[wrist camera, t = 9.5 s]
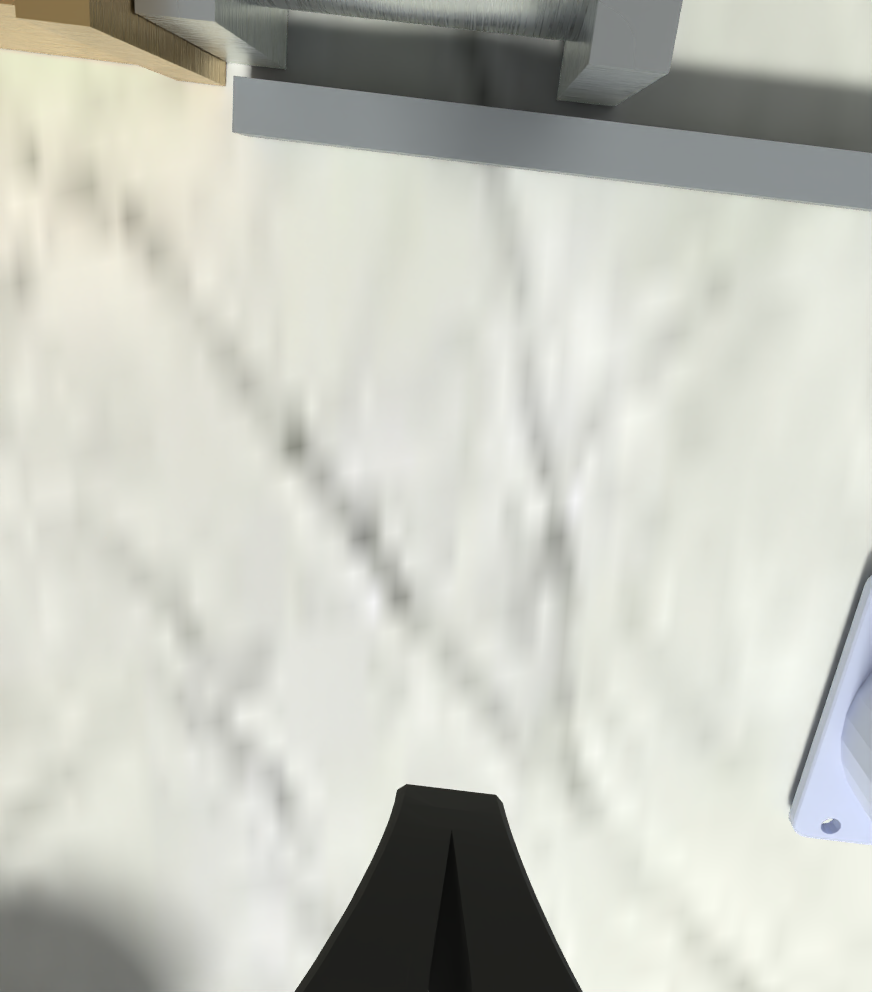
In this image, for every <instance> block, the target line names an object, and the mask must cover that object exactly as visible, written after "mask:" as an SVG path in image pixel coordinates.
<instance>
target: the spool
mask: <svg viewBox="0 0 872 992" xmlns="http://www.w3.org/2000/svg"><path fill="white" fill-rule="evenodd" d="M682 1H683V0H135V13H136V14H138V15H140V16H142V17H144V18H146V19H147V20H149V21H151V22H153V23H155V24H157V25H159V26H160V27H162V28H164V29H166V30H168V31H170V32H172V33H174V34H175V35H177V36H179V37H181V38H183V39H185V40H187V41H188V42H190V43H192V44H194V45H196V46H198V47H200V48H201V49H203V50H205V51H207V52H209V53H211V54H213V55H214V56H216V57H218V58H220V59H222V60H224V61H226V62H227V63H234V64H242V65H251V66H260V67H269V68H278V69H286V59H287V32H288V10H297V11H306V12H315V13H324V14H333V15H341V16H350V17H359V18H368V19H377V20H386V21H395V22H403V23H412V24H421V25H430V26H439V27H448V28H457V29H466V30H474V31H483V32H492V33H501V34H510V35H519V36H528V37H537V38H545V39H554V40H563V41H565V44H564V51H563V58H562V65H561V72H560V79H559V86H558V93H557V100H561V101H570V102H579V103H588V104H597V105H606V106H616V105H618V104H619V103H621V102H623V101H624V100H626V99H628V98H629V97H631V96H632V95H634V94H636V93H637V92H639V91H641V90H642V89H644V88H645V87H647V86H649V85H650V84H652V83H654V82H655V81H657V80H658V79H660V78H662V77H663V76H665V75H667V74H668V73H669V71H670V66H671V60H672V55H673V49H674V44H675V38H676V33H677V28H678V22H679V17H680V11H681V6H682Z"/></svg>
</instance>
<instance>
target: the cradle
mask: <svg viewBox="0 0 872 992" xmlns="http://www.w3.org/2000/svg"><path fill="white" fill-rule="evenodd" d="M232 132H234V133H238V134H242V135H245V136H251V137H259V138H267V139H276V140H284V141H292V142H300V143H309V144H317V145H325V146H334V147H342V148H350V149H358V150H367V151H375V152H383V153H392V154H400V155H408V156H416V157H425V158H433V159H441V160H450V161H458V162H466V163H474V164H483V165H491V166H499V167H508V168H516V169H524V170H532V171H541V172H549V173H557V174H566V175H574V176H582V177H590V178H599V179H607V180H615V181H624V182H632V183H640V184H648V185H657V186H665V187H673V188H682V189H690V190H698V191H706V192H715V193H723V194H731V195H740V196H748V197H756V198H764V199H773V200H781V201H789V202H798V203H806V204H814V205H822V206H831V207H839V208H847V209H856V210H864V211H872V153H869V152H860V151H852V150H844V149H835V148H827V147H819V146H811V145H802V144H794V143H786V142H777V141H769V140H761V139H753V138H744V137H736V136H728V135H720V134H711V133H703V132H695V131H686V130H678V129H670V128H662V127H653V126H645V125H637V124H628V123H620V122H612V121H604V120H595V119H587V118H579V117H570V116H562V115H554V114H546V113H537V112H529V111H521V110H512V109H504V108H496V107H488V106H479V105H471V104H463V103H454V102H446V101H438V100H430V99H421V98H413V97H405V96H396V95H388V94H380V93H372V92H363V91H355V90H347V89H338V88H330V87H322V86H314V85H305V84H297V83H289V82H280V81H272V80H264V79H256V78H247V77H239V76H234V81H233V123H232Z"/></svg>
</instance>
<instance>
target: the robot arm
mask: <svg viewBox="0 0 872 992" xmlns="http://www.w3.org/2000/svg"><path fill="white" fill-rule="evenodd" d="M827 819H833V820H832V821H830V822H828V823H823V822H824V821H825V820H827ZM789 820H790V822H791V824H792V826H793V828H794V830H795V832H796V833H798V834H799V835H801V836H804V837H808V838H817V839H825V840H833V841H841V842H850V843H858V844H866V845H872V575H871V576H870V577H869V578H868V580H867V582H866V583H865V585H864V588H863V591H862V595H861V598H860V601H859V604H858V607H857V610H856V613H855V616H854V619H853V622H852V625H851V628H850V631H849V634H848V637H847V640H846V643H845V646H844V649H843V652H842V655H841V658H840V661H839V664H838V667H837V670H836V673H835V676H834V679H833V682H832V685H831V688H830V691H829V694H828V697H827V700H826V703H825V706H824V709H823V712H822V715H821V718H820V722H819V725H818V728H817V731H816V734H815V737H814V740H813V743H812V746H811V749H810V752H809V755H808V758H807V761H806V764H805V767H804V770H803V773H802V776H801V779H800V782H799V785H798V788H797V791H796V794H795V797H794V800H793V803H792V806H791V809H790V812H789ZM822 823H823V824H822ZM295 992H582V990H581V988H580V986H579V984H578V982H577V980H576V978H575V977H574V975H573V973H572V971H571V969H570V967H569V965H568V963H567V961H566V959H565V957H564V955H563V953H562V951H561V949H560V947H559V945H558V943H557V941H556V939H555V937H554V935H553V932H552V930H551V928H550V926H549V924H548V921H547V919H546V917H545V915H544V913H543V911H542V908H541V906H540V904H539V902H538V900H537V897H536V895H535V893H534V890H533V888H532V886H531V883H530V881H529V878H528V876H527V873H526V871H525V868H524V866H523V863H522V861H521V858H520V855H519V853H518V850H517V847H516V844H515V842H514V839H513V836H512V833H511V830H510V827H509V824H508V820H507V817H506V814H505V810H504V806H503V803H502V802H501V800H500V799H499V798H498V797H497V795H492V794H484V793H476V792H467V791H459V790H451V789H442V788H434V787H426V786H417V785H409V784H406V785H404V786H403V787H401V788H400V789H398V790H397V793H396V798H395V803H394V806H393V809H392V813H391V816H390V819H389V821H388V824H387V827H386V829H385V832H384V834H383V837H382V839H381V841H380V843H379V846H378V848H377V850H376V852H375V855H374V857H373V859H372V861H371V863H370V865H369V867H368V869H367V871H366V873H365V875H364V877H363V879H362V881H361V882H360V884H359V886H358V888H357V890H356V892H355V894H354V896H353V898H352V900H351V902H350V904H349V905H348V907H347V909H346V911H345V912H344V914H343V916H342V917H341V919H340V921H339V922H338V924H337V926H336V927H335V929H334V931H333V932H332V934H331V936H330V937H329V939H328V940H327V942H326V944H325V945H324V947H323V949H322V950H321V952H320V954H319V955H318V957H317V959H316V960H315V962H314V963H313V965H312V966H311V968H310V969H309V971H308V972H307V974H306V975H305V977H304V978H303V980H302V981H301V983H300V984H299V986H298V987H297V989H296V990H295Z"/></svg>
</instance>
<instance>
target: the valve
mask: <svg viewBox="0 0 872 992" xmlns="http://www.w3.org/2000/svg"><path fill="white" fill-rule="evenodd" d="M0 48H2V49H10V50H19V51H27V52H35V53H44V54H52V55H60V56H68V57H77V58H85V59H93V60H102V61H110V62H118V63H126V64H135V65H139V66H142V67H144V68H147V69H149V70H152V71H154V72H157V73H160V74H162V75H165V76H167V77H170V78H173V79H175V80H178V81H187V82H195V83H203V84H211V85H220V86H225V80H226V61H224V60H222V59H220V58H218V57H216V56H214V55H213V54H211V53H209V52H207V51H205V50H203V49H201V48H200V47H198V46H196V45H194V44H192V43H190V42H188V41H187V40H185V39H183V38H181V37H179V36H177V35H175V34H174V33H172V32H170V31H168V30H166V29H164V28H162V27H160V26H159V25H157V24H155V23H153V22H151V21H149V20H147V19H146V18H144V17H142V16H140V15H138V14H136V13H135V0H0Z"/></svg>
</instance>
